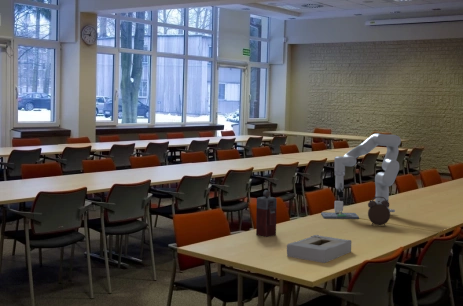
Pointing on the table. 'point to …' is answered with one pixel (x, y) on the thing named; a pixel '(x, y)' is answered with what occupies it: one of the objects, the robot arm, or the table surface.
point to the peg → (338, 207)
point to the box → (319, 248)
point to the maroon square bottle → (266, 215)
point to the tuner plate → (340, 215)
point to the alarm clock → (378, 212)
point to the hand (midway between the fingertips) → (339, 196)
